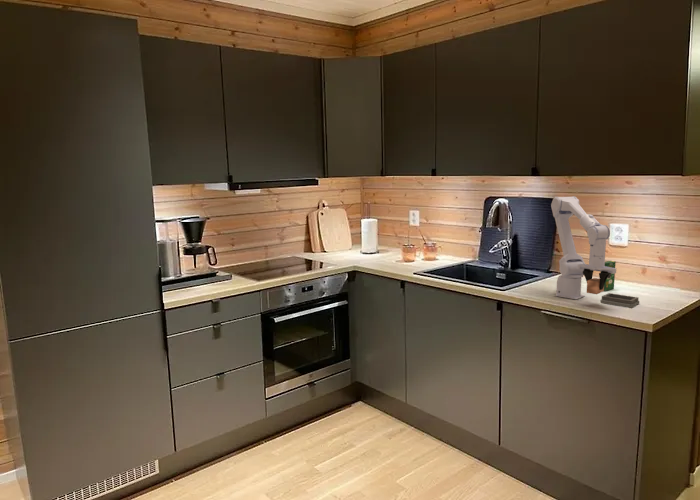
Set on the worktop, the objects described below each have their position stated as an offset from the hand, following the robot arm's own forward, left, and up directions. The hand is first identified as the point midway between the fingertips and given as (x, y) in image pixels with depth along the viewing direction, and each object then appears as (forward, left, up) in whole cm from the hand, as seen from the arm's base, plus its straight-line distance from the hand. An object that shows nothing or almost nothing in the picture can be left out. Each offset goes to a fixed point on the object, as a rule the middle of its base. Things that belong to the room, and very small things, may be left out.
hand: (595, 288), depth 214 cm
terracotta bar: (0, 0, -2) cm, 2 cm away
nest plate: (+6, +10, -7) cm, 14 cm away
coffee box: (-7, +31, -7) cm, 33 cm away
